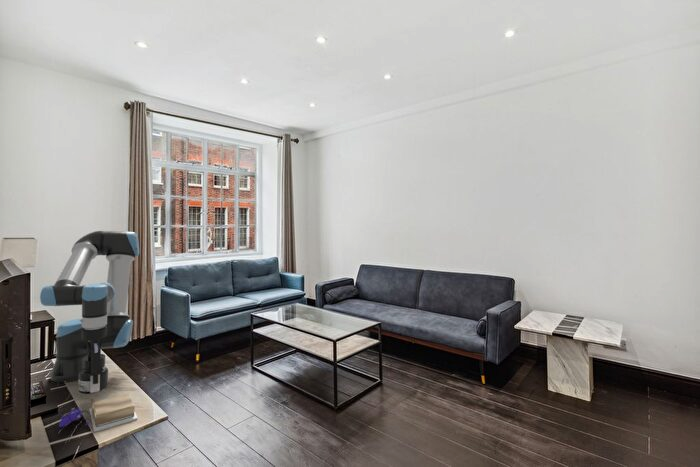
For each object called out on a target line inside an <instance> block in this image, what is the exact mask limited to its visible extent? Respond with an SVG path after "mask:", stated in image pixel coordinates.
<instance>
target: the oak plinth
mask: <svg viewBox="0 0 700 467" xmlns="http://www.w3.org/2000/svg"><path fill="white" fill-rule="evenodd" d="M91 408H92V414H93V418H94V422H95V426H96V425H100V424H104V423H107V422H111V421H114V420H118V419H121V418H125V417H128V416H132V415H134V411H135V404H134V403H133V400H132V398H131V395H130V393H126V394H120V395H117V396H113V397H109V398H105V399H102V400H97V401H94V402H91Z"/></svg>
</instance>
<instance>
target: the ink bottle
mask: <svg viewBox="0 0 700 467" xmlns="http://www.w3.org/2000/svg"><path fill="white" fill-rule="evenodd" d="M100 364H101V374H100V391H97V392H93V393H90V376H89V374H91V357H90V356H89V355H88V356H86V357H84V358H83V359H82V369H83V370H82V371H81V372H80V373H79V378H78V379H79V380H77V381H78V384H77V385H78V387H77V388H78V389H77V390H78V392H79V393H80V394H82V395H92V394H96V393H99V392H102V391H104V390H105V389H106V388H108V387H109V386H108V385H109V368H108V367H106V366H105V365H106V355H105V354H103V353H101V354H100Z"/></svg>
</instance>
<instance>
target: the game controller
mask: <svg viewBox="0 0 700 467" xmlns="http://www.w3.org/2000/svg"><path fill="white" fill-rule="evenodd" d="M83 412H85V413H88V414H89V417H90V418H91V415H90V412H88V411H87V410H83V411H82V409H81V408H79V407H78V408H75V407H73V408H71V410H70V411H68V412H66V413H65V412H59V414H62V415H61V417H60V418H61V419H60V421H59V423H58V427H59V428H61V429H64V428H66V427H69V426H72V427H73V428H74V429H75V431H76V432H78V433H79V431H78V430H77V429H76V427H75V425H74V424H77V423H79V422H82V421H84V419H82V420H80V419H81V418H82V415H83ZM57 414H58V412H56V413H55V414H54V415H53V414H52V415H53V416H52V417H51V418H53V417H54V416H55V415H57ZM77 420H80V421H77ZM51 421H52V419H50V421H49V424H50V426H51V427H52V428H54V429H57V427H54V426H53V425H52V423H51ZM73 421H76V422H73ZM89 422H90V420H89V419H87V420H86V423H85V424H84V427H83V429H85V428H86V426H88V425H89Z"/></svg>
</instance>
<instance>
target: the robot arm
mask: <svg viewBox="0 0 700 467" xmlns="http://www.w3.org/2000/svg"><path fill="white" fill-rule="evenodd" d="M97 256H105V259H106V260H107V261H108V271H107V279H106V282H100V283H90V284H88V285H87V284H81V282H83V278H85V275H86V272H87V271H88V268H89V267H90V264H91V262H92V260H93V259H96V257H97ZM137 256H140V244H139V237H138V234H137V233H136V232H134V231H127V230H125V231H117V230H115V231H114V230H96V231H92V232H89V233H87V234H85V235H83V236H82V237H80V238H79V239H78V240H77V241H76V242H74V244H73V245H72V248H71V255H70V256H69V258H68V260H67V261H66V263H65V265H64V267H63V269H62V271H61V272H60V274H59V276H58V278H57V279H56V281H55V283H54V284H53V285H52V284H51V285H45V286H44V287H42V289H41V290H40V295H39V296H40V297H39V299H40V301H39V302H40V303H41V305H42V306H44V307H64V306H66V307H67V306H81V318H76V319H72V320H67V321H65V322H63V323H61V324H60V325H59V324H58V326H57V329H56V336H55V337H56V341H55V342H56V346H55V348H56V353H55V354H56V355H55V356H56V357H55V358H56V359H55V362H54V363H53V364H54V365H53V367H52V369H51V372H50V378H49V379H50V381H52V382H55V383H68V382H75V381H78V380H79V379H78V378H79V373H80V372H81V371H82V370H83V369H82V359H83V358H84V357H86V356H88V355H89V356H90V357H91V374H89V376H90V393H92V394H94V393H93V392H96V393H98V392H97V391H99V392H101V391H100V374H101V364H100V354H102V350H103V349H116V348H123V347H125V346H127V345H128V343H129V342H130V339H131V337H132V332H133V326H134V321H133V319H130V315H129V314H128V313H127V306H128V295H129V285H130V274H131V273H130V272H131V266H132V264H131V263H132V262H133V261H135V259H136V257H137Z"/></svg>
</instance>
